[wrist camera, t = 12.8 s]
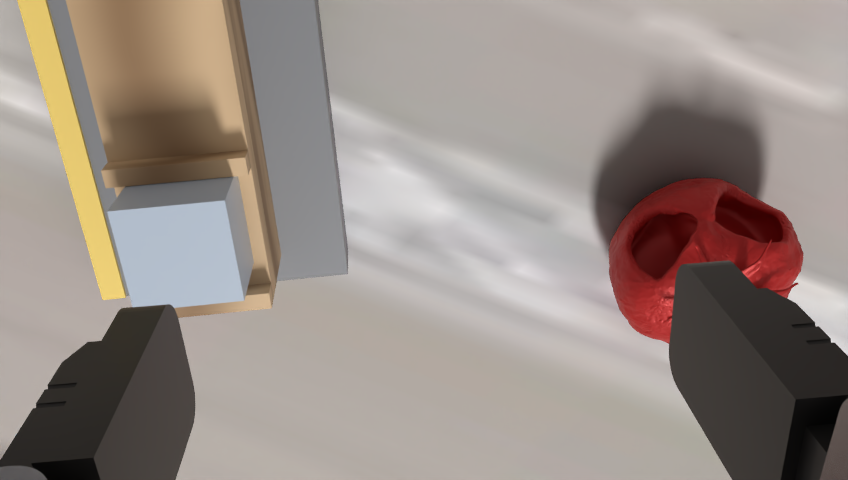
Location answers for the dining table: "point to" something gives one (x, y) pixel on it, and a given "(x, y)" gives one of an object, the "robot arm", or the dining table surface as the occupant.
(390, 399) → the dining table surface
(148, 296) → the pale blue block
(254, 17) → the plate
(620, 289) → the pomegranate
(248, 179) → the long wooden trough
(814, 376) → the robot arm
